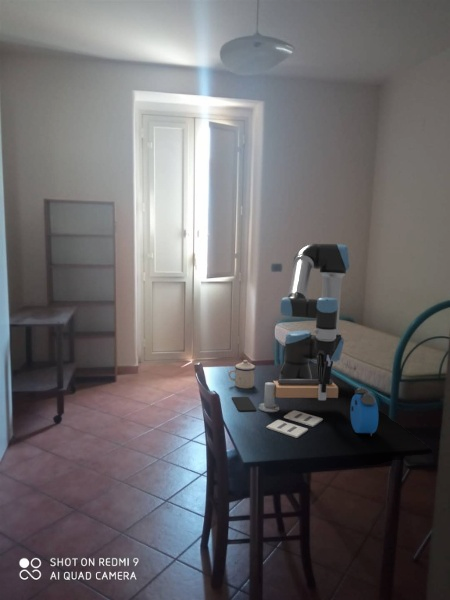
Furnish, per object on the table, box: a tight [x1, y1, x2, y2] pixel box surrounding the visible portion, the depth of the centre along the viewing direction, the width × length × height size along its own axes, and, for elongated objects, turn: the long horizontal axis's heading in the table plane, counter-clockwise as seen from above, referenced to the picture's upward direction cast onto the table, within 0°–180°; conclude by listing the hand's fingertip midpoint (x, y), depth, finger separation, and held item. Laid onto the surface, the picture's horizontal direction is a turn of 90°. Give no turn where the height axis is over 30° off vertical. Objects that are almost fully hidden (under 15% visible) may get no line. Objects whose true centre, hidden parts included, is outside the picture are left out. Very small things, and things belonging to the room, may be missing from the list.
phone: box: [231, 396, 257, 413], centre depth 179 cm, size 7×1×15 cm
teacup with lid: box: [227, 359, 256, 389], centre depth 200 cm, size 12×9×12 cm
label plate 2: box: [283, 409, 324, 427], centre depth 166 cm, size 8×12×1 cm, turn 52°
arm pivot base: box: [258, 402, 280, 414], centre depth 175 cm, size 8×8×1 cm
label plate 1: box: [266, 419, 309, 439], centre depth 157 cm, size 8×12×1 cm, turn 52°
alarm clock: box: [349, 386, 379, 437], centre depth 156 cm, size 13×6×15 cm, turn 0°
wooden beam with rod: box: [263, 378, 339, 408], centre depth 175 cm, size 28×8×11 cm, turn 95°
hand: (321, 399), depth 170 cm, fingers closed
